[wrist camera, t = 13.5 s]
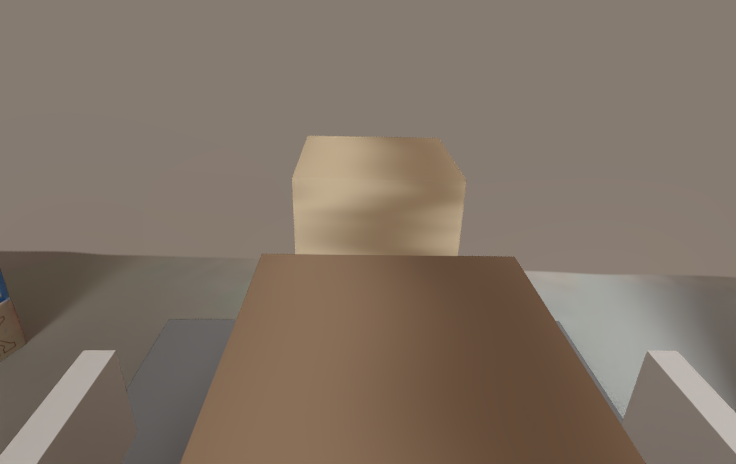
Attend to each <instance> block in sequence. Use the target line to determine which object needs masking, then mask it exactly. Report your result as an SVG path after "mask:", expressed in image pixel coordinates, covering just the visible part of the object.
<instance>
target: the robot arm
mask: <svg viewBox="0 0 736 464" xmlns="http://www.w3.org/2000/svg"><path fill="white" fill-rule="evenodd" d="M621 425H622V427H623V428H624V430H625V431H626V433H627V434H628V436H629V438H630V439H631V441H632V442H633V444H634V445H635V447H636V448H637V450H638V452H639V453H640V455H641V456H642V458H643V459H644V461H645V463H646V464H736V413H735V412H734V411H733V409H732V408H731V407H730V406H729V405H728V404H727V403H726V402H725V401H724V400H723V399H722V398H721V397H720V396H719V395H718V394H717V393H716V392H715V390H714V389H713V388H712V387H711V386H710V385H709V384H708V383H707V382H706V381H705V380H704V379H703V378H702V377H701V376H700V375H699V374H698V373H697V371H696V370H695V369H694V368H693V367H692V366H691V365H690V364H689V363H688V362H687V361H686V360H685V359H684V358H683V357H682V356H681V355H680V354H679V352H678V351H647V353H646V356H645V358H644V361H643V364H642V367H641V370H640V373H639V376H638V378H637V381H636V384H635V387H634V390H633V393H632V396H631V399H630V401H629V404H628V407H627V410H626V413H625V416H624V419H623V421H622V424H621ZM136 434H137V430H136V426H135V422H134V418H133V415H132V411H131V407H130V403H129V399H128V395H127V391H126V387H125V384H124V380H123V376H122V372H121V368H120V364H119V360H118V356H117V353H116V350H83V352H82V353H81V354H80V355H79V357H78V358H77V359H76V360H75V362H74V363H73V364H72V365H71V367H70V368H69V369H68V371H67V372H66V373H65V374H64V376H63V377H62V378H61V379H60V381H59V382H58V383H57V384H56V386H55V387H54V388H53V389H52V391H51V392H50V393H49V394H48V396H47V397H46V398H45V400H44V401H43V402H42V403H41V405H40V406H39V407H38V408H37V410H36V411H35V412H34V413H33V415H32V416H31V417H30V418H29V420H28V421H27V422H26V423H25V425H24V426H23V427H22V429H21V430H20V431H19V432H18V434H17V435H16V436H15V437H14V439H13V440H12V441H11V442H10V444H9V445H8V446H7V447H6V449H5V450H4V451H3V452H2V454H1V455H0V464H121V463H122V461H123V459H124V457H125V455H126V453H127V451H128V449H129V448H130V446H131V444H132V442H133V440H134V438H135V436H136Z"/></svg>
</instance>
